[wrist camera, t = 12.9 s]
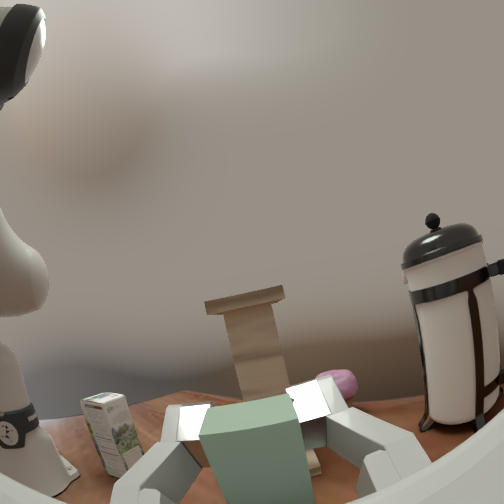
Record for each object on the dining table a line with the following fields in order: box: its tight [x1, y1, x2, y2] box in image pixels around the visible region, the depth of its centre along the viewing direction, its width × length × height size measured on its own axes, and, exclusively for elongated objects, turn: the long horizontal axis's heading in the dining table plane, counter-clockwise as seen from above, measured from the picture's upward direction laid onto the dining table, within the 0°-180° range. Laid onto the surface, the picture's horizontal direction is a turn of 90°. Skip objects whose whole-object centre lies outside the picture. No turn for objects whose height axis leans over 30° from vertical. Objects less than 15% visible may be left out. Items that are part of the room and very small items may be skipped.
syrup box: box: [80, 393, 144, 478], centre depth 31 cm, size 6×6×14 cm
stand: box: [205, 285, 322, 477], centre depth 34 cm, size 13×9×26 cm
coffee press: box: [401, 213, 504, 433], centre depth 26 cm, size 17×16×30 cm
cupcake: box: [316, 370, 358, 408], centre depth 42 cm, size 9×9×10 cm
